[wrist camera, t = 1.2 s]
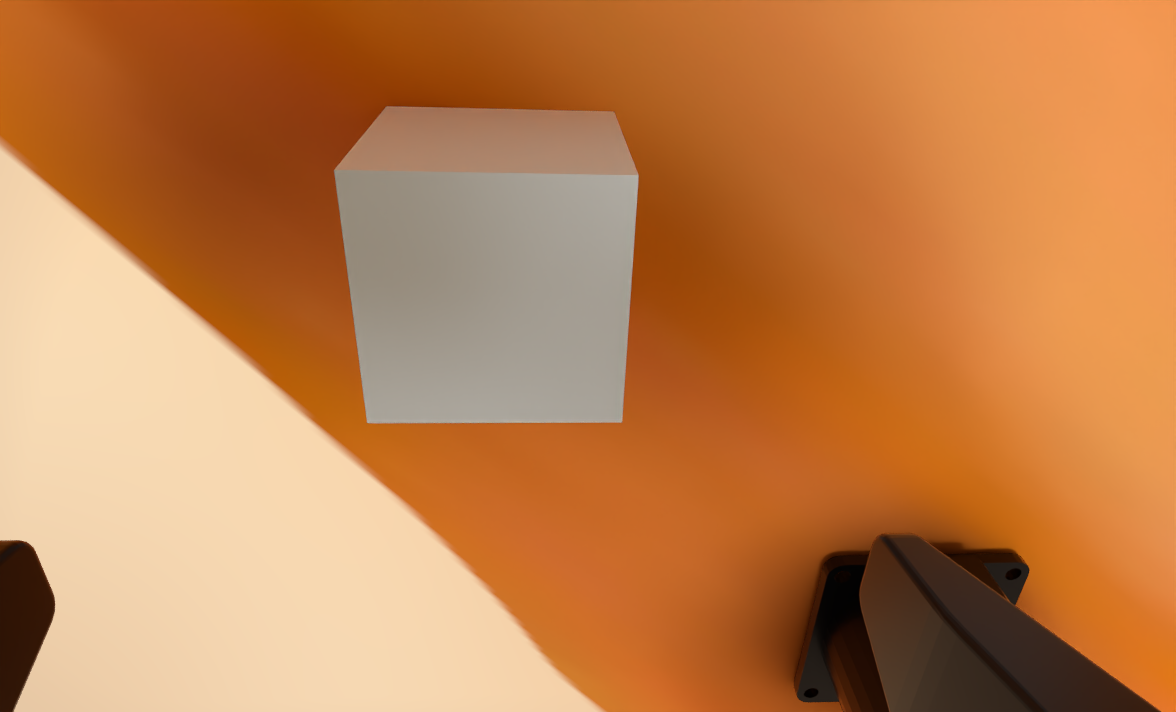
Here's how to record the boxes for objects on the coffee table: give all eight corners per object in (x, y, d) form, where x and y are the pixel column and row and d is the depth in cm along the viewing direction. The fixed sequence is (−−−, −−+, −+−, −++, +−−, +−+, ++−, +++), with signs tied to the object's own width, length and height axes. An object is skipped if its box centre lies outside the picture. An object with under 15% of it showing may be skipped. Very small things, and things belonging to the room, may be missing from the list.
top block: (604, 311, 20) (622, 422, 15) (406, 310, 19) (367, 423, 15) (613, 110, 17) (638, 175, 13) (387, 105, 17) (334, 169, 12)
